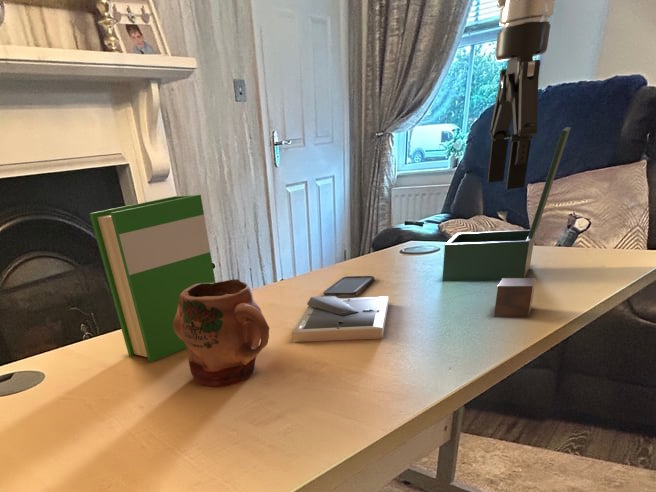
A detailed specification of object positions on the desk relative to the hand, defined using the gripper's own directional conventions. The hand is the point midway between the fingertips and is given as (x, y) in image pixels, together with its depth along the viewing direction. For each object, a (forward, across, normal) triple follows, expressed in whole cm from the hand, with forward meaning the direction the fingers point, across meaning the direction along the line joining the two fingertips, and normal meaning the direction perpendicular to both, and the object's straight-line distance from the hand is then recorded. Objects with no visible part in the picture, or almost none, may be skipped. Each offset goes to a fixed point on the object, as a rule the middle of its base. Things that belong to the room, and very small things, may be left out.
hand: (504, 184), depth 94 cm
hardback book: (+19, +15, -61) cm, 66 cm away
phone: (+19, -16, -28) cm, 37 cm away
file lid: (+2, -14, +12) cm, 18 cm away
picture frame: (+19, +10, -29) cm, 36 cm away
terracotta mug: (+19, +34, -47) cm, 61 cm away
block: (+19, +13, +1) cm, 23 cm away
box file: (+19, -17, +3) cm, 26 cm away
